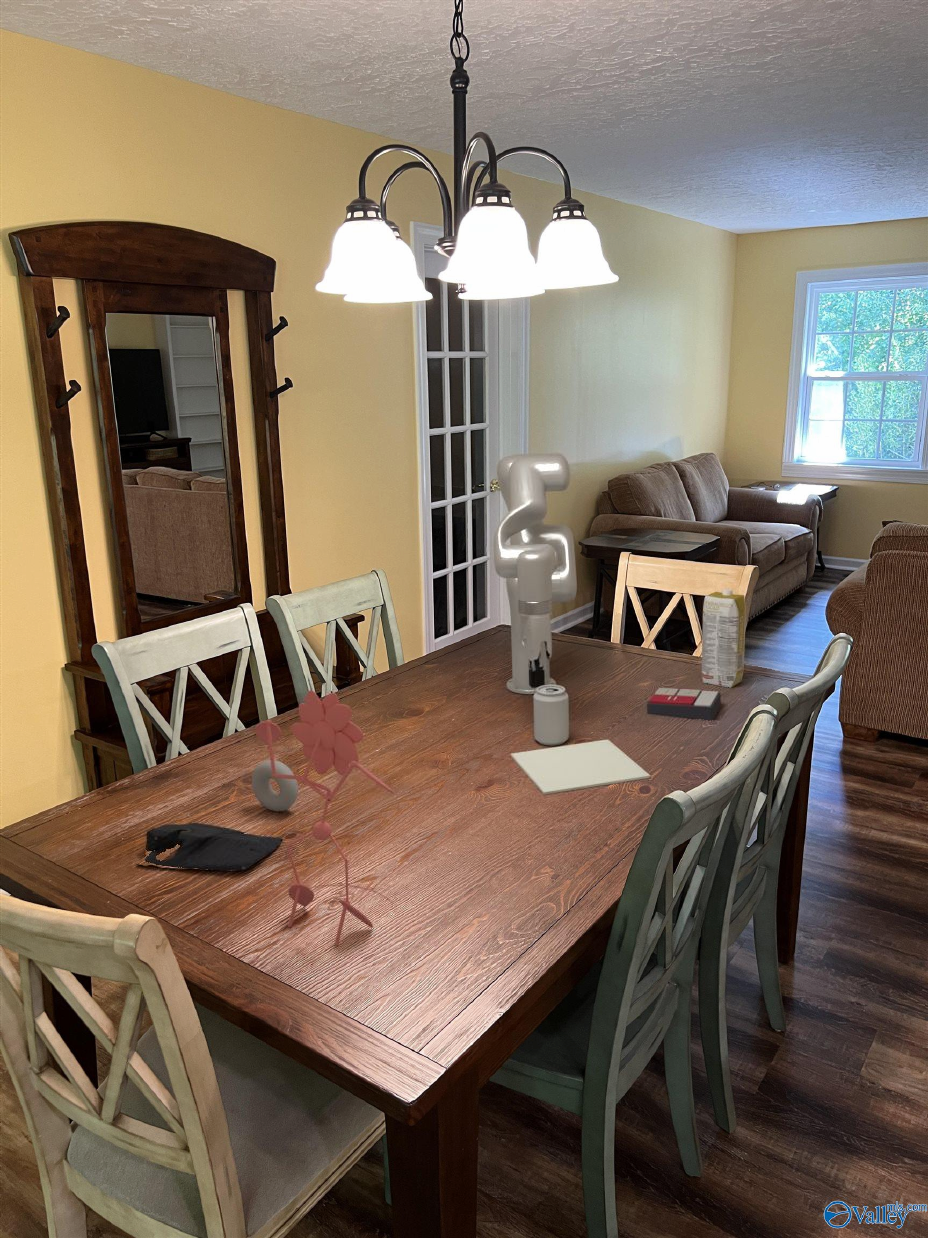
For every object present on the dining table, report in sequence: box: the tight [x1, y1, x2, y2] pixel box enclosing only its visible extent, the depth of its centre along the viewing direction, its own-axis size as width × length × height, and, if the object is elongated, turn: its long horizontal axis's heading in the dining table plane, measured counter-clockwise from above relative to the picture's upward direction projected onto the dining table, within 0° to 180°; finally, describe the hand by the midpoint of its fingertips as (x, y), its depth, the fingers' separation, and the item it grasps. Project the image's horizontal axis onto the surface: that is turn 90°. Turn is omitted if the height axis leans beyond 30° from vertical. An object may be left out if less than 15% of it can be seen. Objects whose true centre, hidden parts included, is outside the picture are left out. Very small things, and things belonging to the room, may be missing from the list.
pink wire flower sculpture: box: [254, 690, 395, 961], centre depth 132 cm, size 15×26×35 cm, turn 56°
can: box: [532, 684, 570, 747], centre depth 197 cm, size 8×8×12 cm
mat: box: [510, 739, 651, 796], centre depth 185 cm, size 20×22×1 cm
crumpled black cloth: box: [145, 822, 283, 872], centre depth 156 cm, size 15×22×5 cm
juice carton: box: [701, 588, 747, 688], centre depth 229 cm, size 9×8×24 cm
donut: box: [251, 759, 299, 812], centre depth 169 cm, size 10×4×10 cm, turn 63°
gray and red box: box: [646, 687, 722, 722], centre depth 214 cm, size 11×4×15 cm
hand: (536, 686), depth 204 cm, fingers closed
